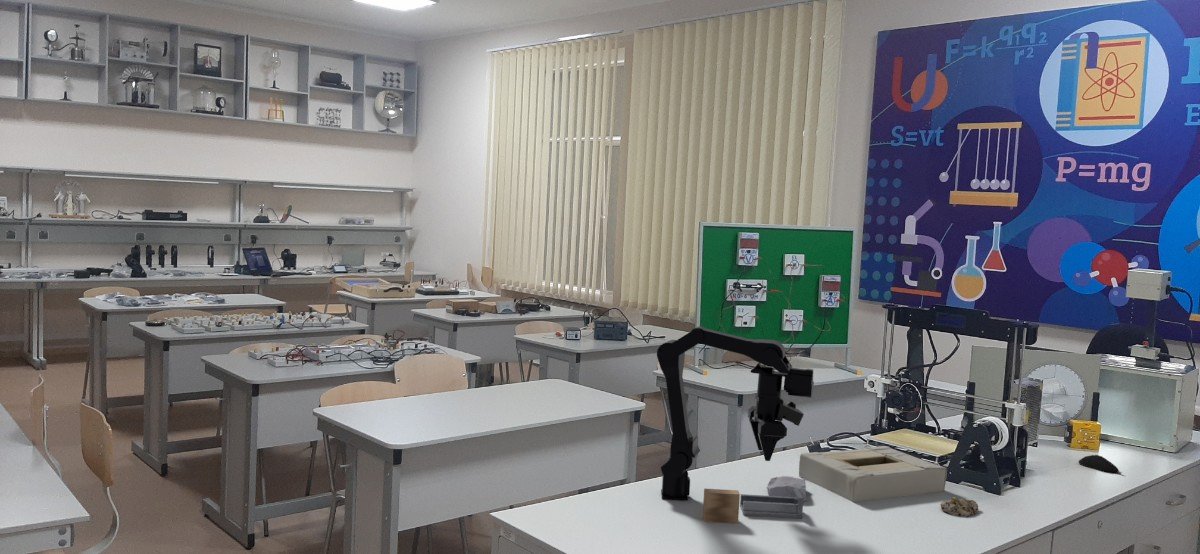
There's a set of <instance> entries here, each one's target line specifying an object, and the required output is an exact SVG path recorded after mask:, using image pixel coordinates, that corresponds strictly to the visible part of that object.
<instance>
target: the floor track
mask: <svg viewBox="0 0 1200 554" xmlns="http://www.w3.org/2000/svg"><path fill="white" fill-rule="evenodd" d="M803 506H804V502H803V497H802V495H801V493H800V492H799V490H798V489H793V495H792V497H782V496H769V495H764V494H762V495H761V494H745V493H742V494H741V493H740V499H739V508H740V509H741V510H740V511H741V513H742V516H754V517H770V518H771V517H773V518H787V519H790V518H791V519H803V511H804V509H803Z"/></svg>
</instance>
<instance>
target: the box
mask: <svg viewBox="0 0 1200 554" xmlns="http://www.w3.org/2000/svg"><path fill="white" fill-rule="evenodd" d="M798 463H799V464H798V477H800V479H805V481H808V482H810V483H812V484H814V485H816V486H819V487H821V488H822V489H825V490H827V491H829V492H831V493H833V494H835V495H837V496H839V497H842V498H844V499H846V500H848V501H850V502H852V503H857V502H858V503H859V502H865V501H874V500H881V499H890V498H891V499H892V498H898V497H906V496H907V497H908V496H913V495H915V496H916V495H922V494H924V495H925V494H931V493H938V492H939V493H940V492H944V491H945V488H946V482H947V473H948V469H947V468H946V467H944V466H942V465H939V464H935V463H932V462H930V461H927V460H924V459H921V458H918V457H916V456H913V455H910V454H908V453H905V452H903V451H899V450H896V449H894V448H892V447H889V446H887V445H880V446H867V447H865V448H858V449H857V448H856V449H850V450H849V449H847V450H846V449H845V450H837V451H836V450H835V451H823V452H818V451H814V452H803V453H800V455H799V462H798Z"/></svg>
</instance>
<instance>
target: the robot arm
mask: <svg viewBox="0 0 1200 554" xmlns="http://www.w3.org/2000/svg"><path fill="white" fill-rule="evenodd" d="M697 345H705V346H707V347H712V348H716V349H720V350H724V351H727V352H731V353H734V354H740V355H743V356H745V357H747V358H750V359H751V360H753V361H755V362H757V364H756V365H755V366H754V367H752V369H751V370H750V373H752V374H757V375H758V380H757V391H756V393H755V394H754V395H755V396H754V398H755V399H756V401H755V402H756V404H755V405H756V406H755V405H754V406H753V405H752V406H751V407H750V408H749V409H748V411H747V417H748V422H749V424H750V427H751V429H752V434H753V437H754V440H755V443H756V446H757V449H758V451H762V453H763V457H764V460H765V461H766V462H770V461H771V459H772V456H773V453H774V451H775V448H776V446H777V443H778V442H779V441H781V440H783V439H784V438H785V437H787V434H788V427H786V425H785V424H784V423H783V419H784V420H786V421H788V422H790V423H792V424H793V425H795V426H798V427H799V426H800V424H801V422H802V420H803V417H804V413H803V411H802V410H800V409H798V408H797V405H796V403H795V402H793V401H792V400H788V401H787V402H786V403H785V401H784V399H783V398H782V387H783V390H784V391H785V393H787V395H788V396H793V397H801V398H807V399H808V398H810V399H812V398H813V393H814V386H815V385H814V383H815V381H814V369H813V368H800V367H799V368H796V367H793V365H792V364H791V362H790V361H789V359H788V357H787V356H786V349H785V346H784V344H783V343H782V342H780V341H779V340H776V339H775V340H774V339H763V338H762V339H760V338H758V339H755V338H754V339H752V338H746V337H742V336H738V335H735V334H730V333H726V332H722V331H718V330H713V329H709V328H707V327H704V326H700V325H699V326H696V327H694V328H693V329H691V330H690V331H689V332H688V333H686V334H685V335H683V336H681V337H680V338H678V339H670V340H667V341H666V342H663V343H662V344H660V345H659V347H658V348H657V350H656V358H657V361H658V364H659V366H660V367H659V368H660V369H661V372H662V374H663V376H664V378H665V383H666V384H665V385H666V391H667V392H666V393H667V400H668V407H669V415H670V424H671V431H672V433H671V434H672V436H671V443H670V450H669V451H670V452H669V457H668V458H667V460H666V461H665V462H664V463H663V464H662V465H661V466H660V470H661V474H662V477H661V478H662V481H661V489H660V494H661V499H662V500H663V499H664V500H677V501H678V500H681V501H688V499H689V496H690V489H691V488H690V487H691V478H690V477H689V473H688V469H690V467H691V466H692V465H693V464H694V463H695V462H696V460H697V459H698V456H699V453H700V452H701V450H700V447H699V437H698V435H695V436H693V434H692V433H691V429H690V425H689V418H688V417H689V416H688V410H687V409H688V408H687V402H686V394H685V385H684V377H683V376H684V375H683V374H684V367H685V361H686V360H685V357H686V356H685V355H686V352H688V351H689V350H691V349H692V348H693V347H695V346H697ZM783 378H784V381H783Z"/></svg>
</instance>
